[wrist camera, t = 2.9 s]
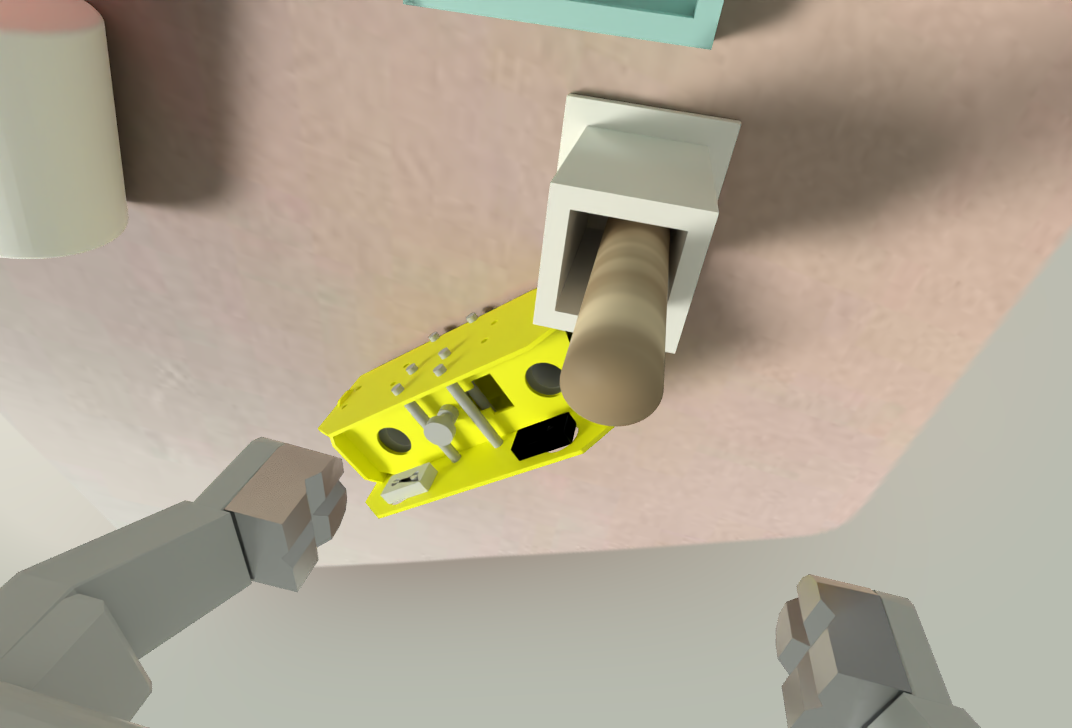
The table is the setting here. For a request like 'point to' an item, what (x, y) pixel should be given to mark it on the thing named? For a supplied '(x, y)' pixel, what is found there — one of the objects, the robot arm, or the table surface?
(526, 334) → the yellow toy chassis
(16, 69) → the mug
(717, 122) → the pencil cup
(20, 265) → the table surface
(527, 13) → the tray
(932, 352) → the table surface
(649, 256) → the dowel
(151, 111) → the table surface
